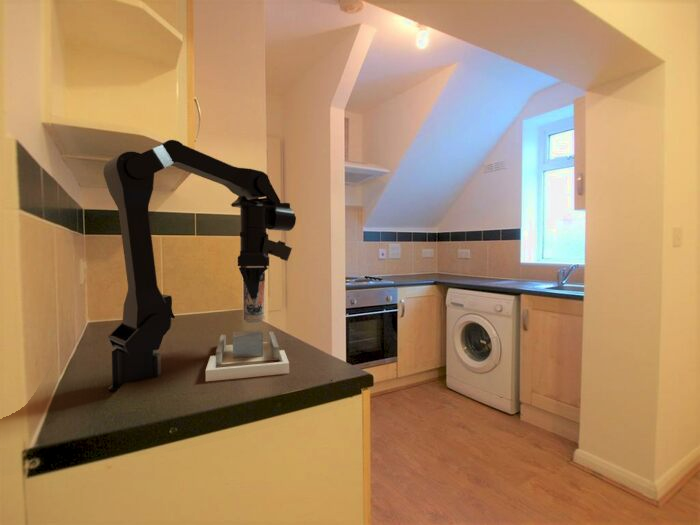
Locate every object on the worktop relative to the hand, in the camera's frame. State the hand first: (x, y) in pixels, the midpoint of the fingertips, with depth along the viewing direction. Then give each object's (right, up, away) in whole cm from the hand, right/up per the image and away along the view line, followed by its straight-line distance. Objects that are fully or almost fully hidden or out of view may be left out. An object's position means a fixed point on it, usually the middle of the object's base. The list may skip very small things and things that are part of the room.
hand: (253, 297), depth 81 cm
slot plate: (0, -13, -3) cm, 13 cm away
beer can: (0, -6, 0) cm, 6 cm away
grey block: (0, -12, -5) cm, 13 cm away
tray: (+3, -13, -15) cm, 20 cm away
